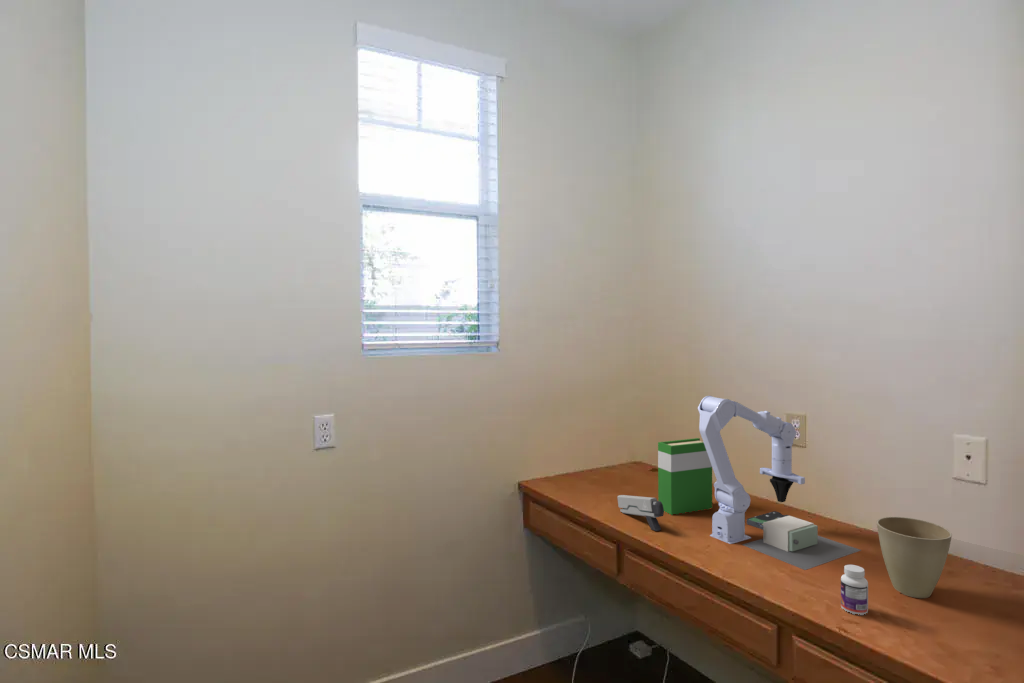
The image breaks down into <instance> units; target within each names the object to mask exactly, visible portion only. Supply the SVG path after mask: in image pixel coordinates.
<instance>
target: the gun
mask: <svg viewBox="0 0 1024 683" xmlns="http://www.w3.org/2000/svg"><path fill="white" fill-rule="evenodd" d="M617 504H618V505H617V506H618V508H619V510H620V513H621V512H622V514H627V515H634V516H640V517H645V518H646V522H647V523H648V525H649V528H650V530H652V531H653V530H654V532H659V531H661V529H662V528H661V525H660V523H659V521H658V518H660V517H663V516H664V514H665V512H664V509H663V504H662V503H661V501H658V499H657V498H656V497H651V496H650V497H649V496H648V497H647V496H639V495H638V496H637V495H629V494H628V495H626V494H620V495H617Z"/></svg>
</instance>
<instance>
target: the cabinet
mask: <svg viewBox="0 0 1024 683" xmlns="http://www.w3.org/2000/svg"><path fill="white" fill-rule="evenodd" d="M798 518H799V517H795V516H792V515H789V516H785V517H782V518H778V519H774V520H771V521H767V522H763V530H762V532H763V533H762V534H763V538H762V539H763V542H764V543H767V544H769V545H772V546H774V547H777V548H780V549H782V550H785V551H789V532H790V531H794V530H797V529H801V528H804V527H808V526H811V525H815V524H814V522H810V521H808V520H804V519H802V518H799V519H798Z"/></svg>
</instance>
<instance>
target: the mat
mask: <svg viewBox="0 0 1024 683" xmlns="http://www.w3.org/2000/svg"><path fill="white" fill-rule="evenodd" d="M741 545H742V546H744V547H746V548H749V549H751V550H755V551H756V552H759V553H760V554H761V553H762V554H764V555H766V556H769V557H770V558H774V559H776V560H778V561H781V562H784V563H786V564H789V565H791V566H794V567H796V568H799V569H801V570H804V571H806V570H810V569H813V568H815V567H818V566H820V565H824V564H827V563H829V562H832V561H835V560H839V559H841V558H843V557H847V556H849V555H852V554H855V553H858V552H861V551H862V549H859V548H857V547H855V546H850V545H847V544H845V543H841V542H839V541H836V540H833V539H829V538H827V537H824V536H821V535H818V543H817V544H815V545H812V546H809V547H806V548H802V549H799V550H796V551H793V552H792V551H785V550H782V549H780V548H777V547H774V546H772V545H769V544H767V543H764V542H763V538H760V539H757V540H753V541H749V542H746V543H743V544H741Z"/></svg>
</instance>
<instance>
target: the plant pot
mask: <svg viewBox="0 0 1024 683" xmlns="http://www.w3.org/2000/svg"><path fill="white" fill-rule="evenodd" d="M876 525H877V526H876V528H877V532H878V533H877V535H878V539H879V545H880V550H881V553H882V554H881V555H882V557H883V561H884V562H883V563H884V564H885V568H886V570H887V573H888V576H889V579H890V582H891V585H892V586H893V588H894V589H895V590H896V591H897V592H899V593H900V594H902V595H904V596H908V597H911V598H915V599H916V598H917V599H927V598H930V597H931V595H932V594H933V592H934V590H935V588H936V586H937V584H938V582H939V580H940V577H941V575H942V572H943V570H944V567H945V566H946V565H945V564H946V561H947V558H948V554H949V550H950V546H951V541H952V537H953V534H952V532H951V531H950V530H949V529H948V528H945V527H944V526H941V525H940V524H936V523H933V522H930V521H927V520H923V519H917V518H911V517H901V516H885V517H881V518H879V519H877V520H876Z"/></svg>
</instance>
